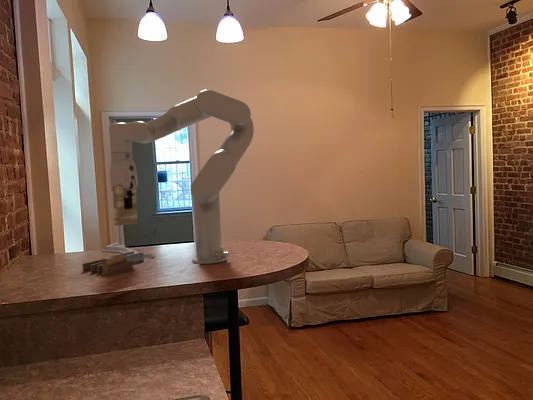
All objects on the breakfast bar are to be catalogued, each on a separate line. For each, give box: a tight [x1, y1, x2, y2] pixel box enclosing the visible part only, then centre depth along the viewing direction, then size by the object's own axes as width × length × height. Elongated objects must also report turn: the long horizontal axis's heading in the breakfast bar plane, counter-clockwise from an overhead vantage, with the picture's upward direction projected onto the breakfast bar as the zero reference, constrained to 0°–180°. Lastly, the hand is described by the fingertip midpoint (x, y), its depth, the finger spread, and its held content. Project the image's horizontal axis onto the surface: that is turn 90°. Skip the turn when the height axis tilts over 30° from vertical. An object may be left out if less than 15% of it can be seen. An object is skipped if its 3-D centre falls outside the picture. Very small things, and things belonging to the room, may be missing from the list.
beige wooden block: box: [112, 186, 138, 226], centre depth 167 cm, size 3×8×14 cm, turn 147°
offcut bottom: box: [102, 266, 107, 274], centre depth 155 cm, size 4×8×2 cm, turn 147°
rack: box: [81, 258, 135, 277], centre depth 157 cm, size 15×11×4 cm
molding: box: [100, 241, 156, 260], centre depth 194 cm, size 42×12×3 cm, turn 36°
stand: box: [112, 251, 150, 266], centre depth 169 cm, size 9×11×4 cm
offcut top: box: [101, 253, 127, 267], centre depth 155 cm, size 4×7×2 cm, turn 147°
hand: (125, 208), depth 167 cm, fingers closed on beige wooden block, 3 cm apart
